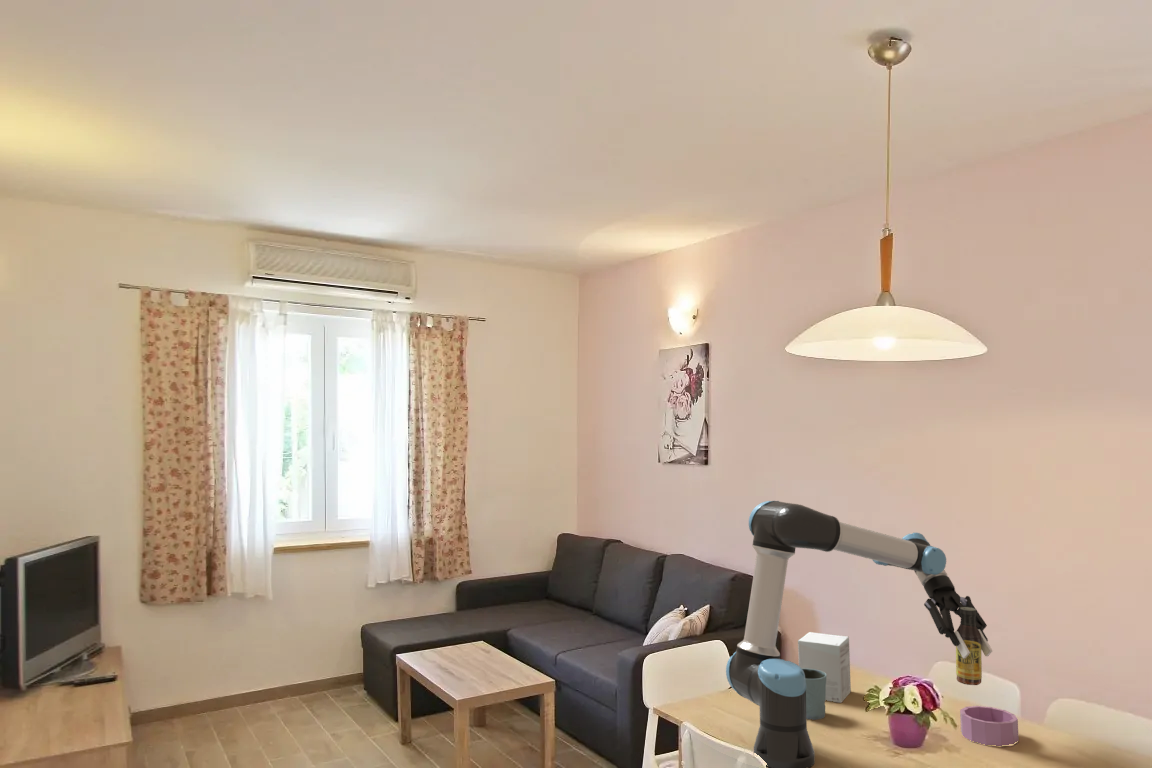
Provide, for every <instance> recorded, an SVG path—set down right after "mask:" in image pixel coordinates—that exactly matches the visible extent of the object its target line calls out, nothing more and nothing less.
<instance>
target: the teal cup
mask: <svg viewBox="0 0 1152 768" xmlns="http://www.w3.org/2000/svg"><path fill="white" fill-rule="evenodd" d="M802 670H803V671H804V674H805V680H806V718H807V720H811V719H812V721H813V720H821V719H824V718H825V716H826V700H825V697H826V693H825V692H826V677H827V675H826V673H824V672H822V671H820V670H815V669H807V668H803V669H802Z"/></svg>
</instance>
